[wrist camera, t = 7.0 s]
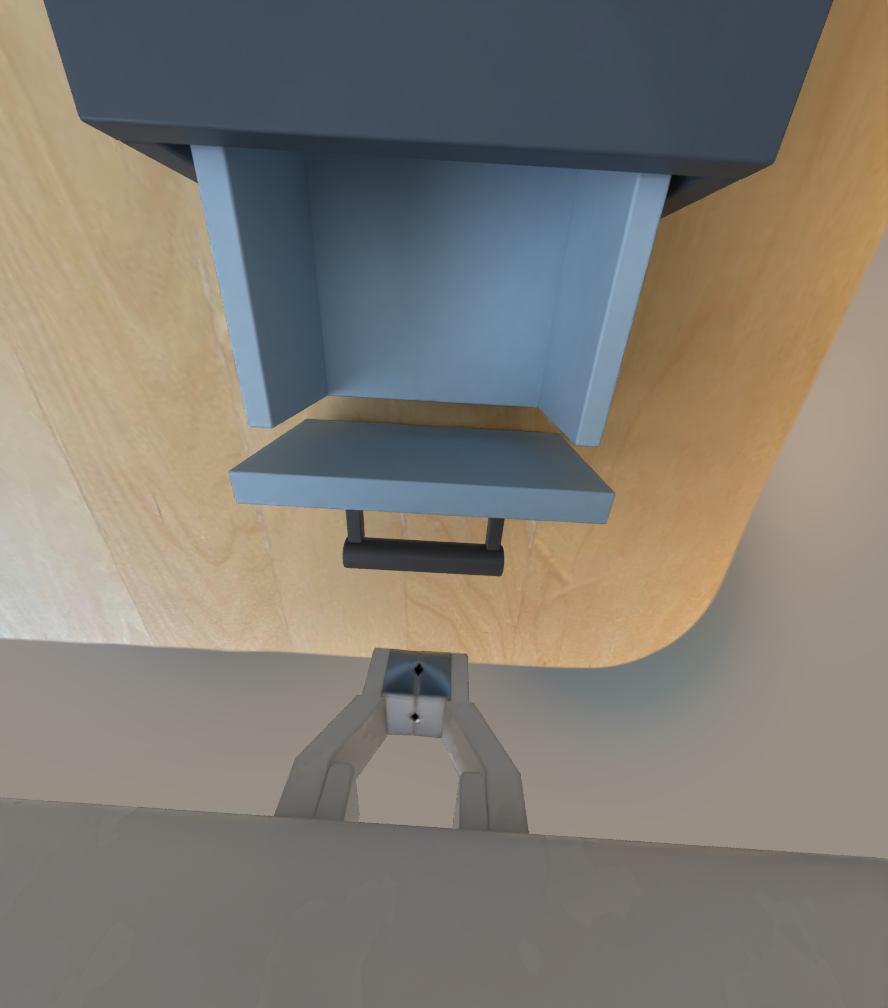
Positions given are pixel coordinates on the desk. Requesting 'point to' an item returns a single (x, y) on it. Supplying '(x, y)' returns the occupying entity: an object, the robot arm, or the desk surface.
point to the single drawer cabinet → (450, 80)
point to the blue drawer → (426, 331)
